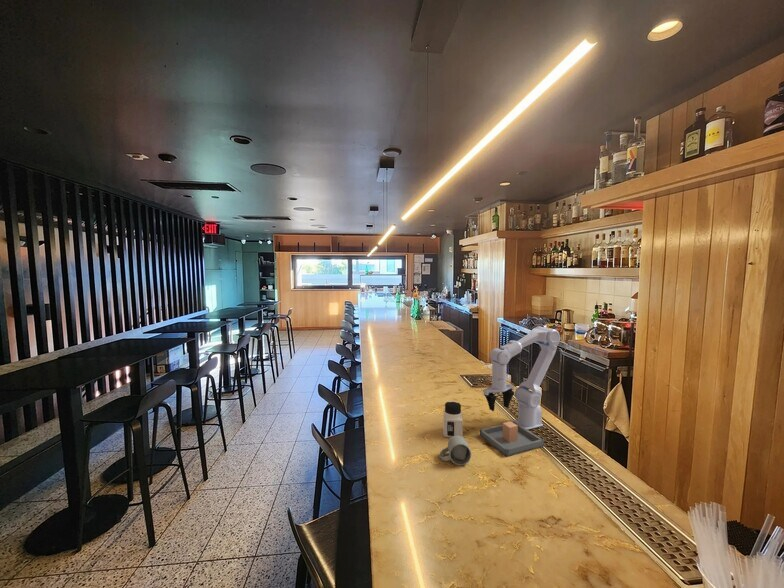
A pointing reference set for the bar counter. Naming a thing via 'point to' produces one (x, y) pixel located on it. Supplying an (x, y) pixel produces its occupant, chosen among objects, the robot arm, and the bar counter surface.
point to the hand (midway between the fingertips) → (499, 408)
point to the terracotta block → (510, 431)
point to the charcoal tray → (511, 448)
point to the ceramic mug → (457, 451)
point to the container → (452, 419)
